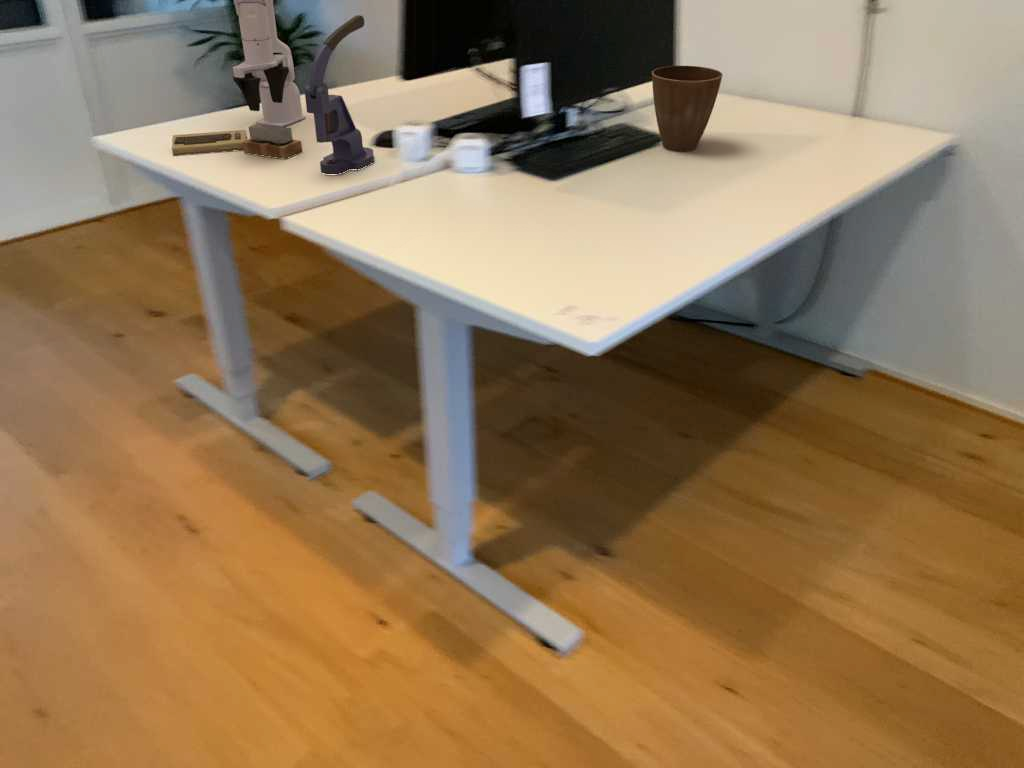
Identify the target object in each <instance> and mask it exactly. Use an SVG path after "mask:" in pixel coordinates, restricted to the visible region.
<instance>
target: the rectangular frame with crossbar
mask: <svg viewBox="0 0 1024 768" xmlns="http://www.w3.org/2000/svg"><path fill="white" fill-rule="evenodd" d="M302 147H303V146H302V140H298V139H293V140H291V141H289V143H288V144H286V145H283V146H276V145H273V142H272V141H267V142H265V143H256V142H254V139H252V138H247V140H245V141H243V149H244V150H243V152H245V153H244V154H246V153H251V154H250V155H253V154H257V155H256V156H259V155H264V156H263V157H265V156H271V157H270V158H272V157H277V158H276V159H278V158H284V159H286V158H288V157H290V158H292V157H294V156H293V155H295V154H297V155H299V154H301V153H300V152H302V153H303V148H302ZM298 153H299V154H298ZM291 156H292V157H291ZM295 156H296V155H295ZM284 159H283V160H284ZM288 159H289V158H288ZM286 160H287V159H286Z"/></svg>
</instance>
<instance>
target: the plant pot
mask: <svg viewBox="0 0 1024 768" xmlns="http://www.w3.org/2000/svg"><path fill="white" fill-rule="evenodd" d="M722 79H723V72H721V71H720V70H718V69H714V68H710V67H703V66H699V65H698V66H696V65H669V66H668V65H667V66H661V67H658V68H655V69H653V70H652V71H651V81H652V95H653V104H654V105H653V106H654V112H655V117H656V118H655V119H656V123H657V127H658V131H659V133H658V134H659V137H660V140H661V143H662V147H663V148H664V149H666V150H668V151H672V150H673V151H672V152H688V151H687V150H691V151H694V150H696V149H697V147H698V145H699V142H700V141H701V139H702V137H703V135H704V133H705V130H706V128H707V126H708V123H709V121H710V118H711V115H712V113H713V111H714V107H715V105H716V104H715V103H716V101H717V97H718V93H719V90H720V87H721V83H722ZM695 148H696V149H695ZM693 149H694V150H693Z"/></svg>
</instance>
